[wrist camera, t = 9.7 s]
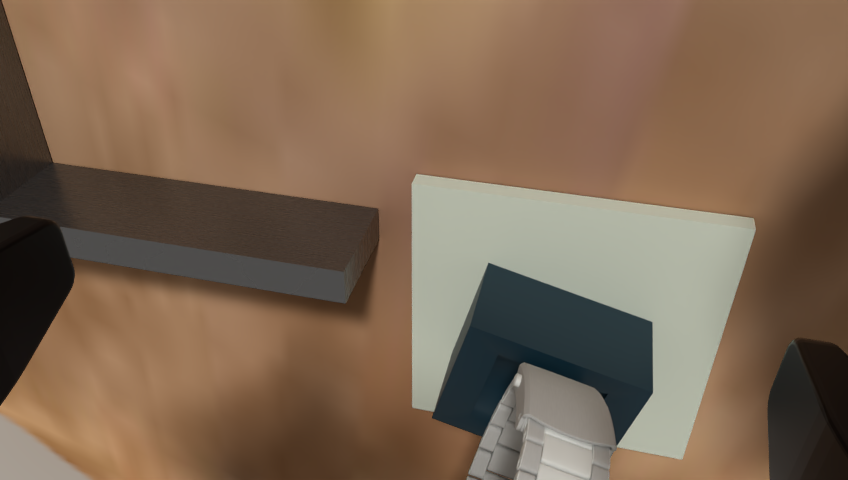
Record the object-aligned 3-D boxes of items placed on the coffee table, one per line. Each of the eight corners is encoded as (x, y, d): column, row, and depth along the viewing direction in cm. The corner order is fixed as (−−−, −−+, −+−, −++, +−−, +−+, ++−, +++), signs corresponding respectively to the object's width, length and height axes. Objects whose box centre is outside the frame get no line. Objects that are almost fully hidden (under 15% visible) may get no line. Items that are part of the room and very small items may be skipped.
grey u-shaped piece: (363, -231, 17) (309, -221, 15) (379, 238, 25) (345, 303, 22) (-115, -243, 20) (-238, -236, 17) (32, 186, 28) (-36, 239, 25)
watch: (438, 387, 28) (340, 697, 19) (505, 220, 23) (417, 533, 14) (581, 440, 27) (549, 779, 19) (680, 282, 23) (701, 640, 14)
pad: (753, 218, 21) (756, 229, 21) (681, 446, 27) (682, 459, 27) (416, 174, 23) (411, 183, 23) (416, 396, 29) (412, 407, 29)
